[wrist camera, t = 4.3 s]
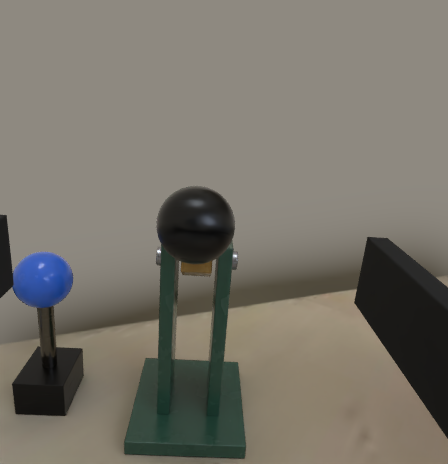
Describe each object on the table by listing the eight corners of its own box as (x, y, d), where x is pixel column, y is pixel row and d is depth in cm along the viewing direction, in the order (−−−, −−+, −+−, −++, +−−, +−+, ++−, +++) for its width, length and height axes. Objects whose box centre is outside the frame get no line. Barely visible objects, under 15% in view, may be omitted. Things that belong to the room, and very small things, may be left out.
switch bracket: (244, 458, 30) (267, 266, 25) (124, 454, 30) (122, 258, 25) (237, 372, 40) (252, 219, 35) (145, 368, 39) (147, 213, 34)
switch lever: (236, 261, 17) (240, 178, 17) (148, 256, 16) (155, 172, 17) (218, 284, 31) (221, 239, 32) (172, 282, 31) (176, 236, 32)
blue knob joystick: (85, 375, 38) (80, 243, 33) (67, 416, 33) (58, 268, 29) (38, 373, 37) (26, 240, 33) (12, 413, 33) (-5, 265, 29)
